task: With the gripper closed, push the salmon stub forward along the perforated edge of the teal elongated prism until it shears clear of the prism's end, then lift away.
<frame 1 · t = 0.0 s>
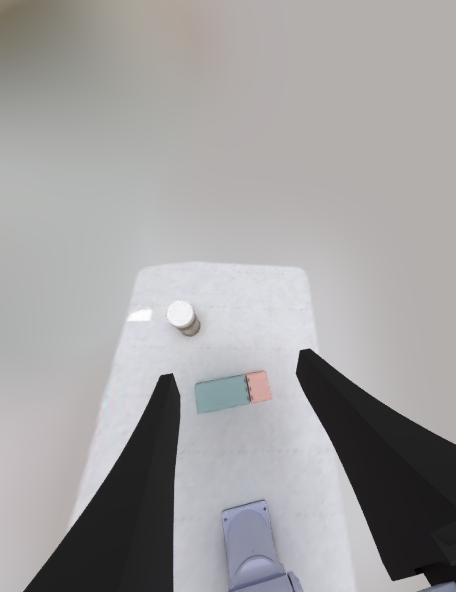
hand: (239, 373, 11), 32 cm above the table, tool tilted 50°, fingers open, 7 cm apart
sprinkles bottle: (190, 327, 44), on the table
teal elongated prism: (221, 391, 39), on the table
stub: (257, 386, 39), point 2 cm above the table, slide at 0.0 cm
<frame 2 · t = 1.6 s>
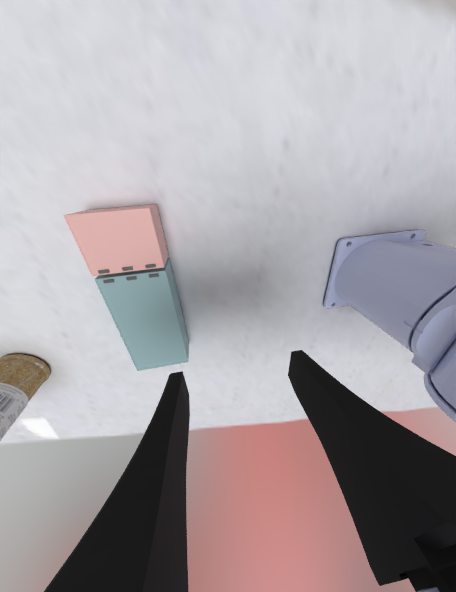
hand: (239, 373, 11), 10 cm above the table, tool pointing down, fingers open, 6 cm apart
sprinkles bottle: (28, 366, 20), on the table
teal elongated prism: (155, 308, 19), on the table
stub: (125, 238, 14), point 2 cm above the table, slide at 0.0 cm
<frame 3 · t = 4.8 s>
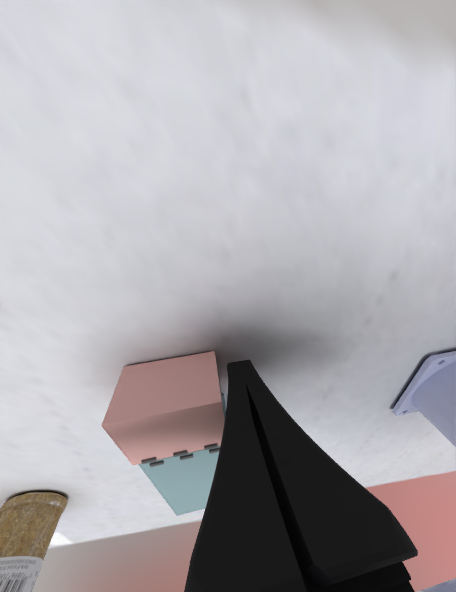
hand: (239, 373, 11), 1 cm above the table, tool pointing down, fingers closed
sprinkles bottle: (40, 497, 17), on the table
teal elongated prism: (197, 436, 15), on the table
stub: (175, 406, 10), point 2 cm above the table, slide at 0.2 cm, touching gripper
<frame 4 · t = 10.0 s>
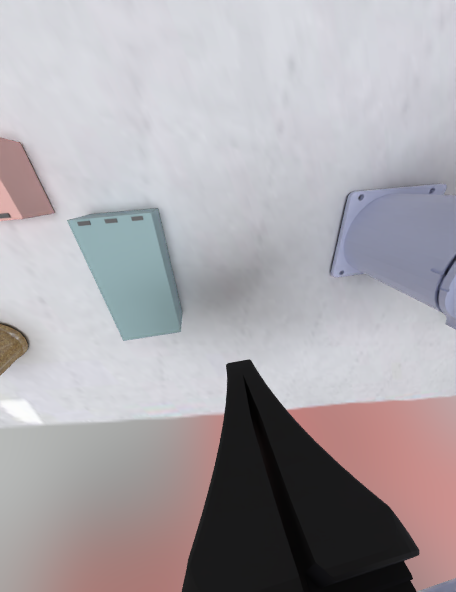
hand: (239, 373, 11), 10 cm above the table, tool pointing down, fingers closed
sprinkles bottle: (3, 338, 18), on the table
teal elongated prism: (143, 271, 17), on the table
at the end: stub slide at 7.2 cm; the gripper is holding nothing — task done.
